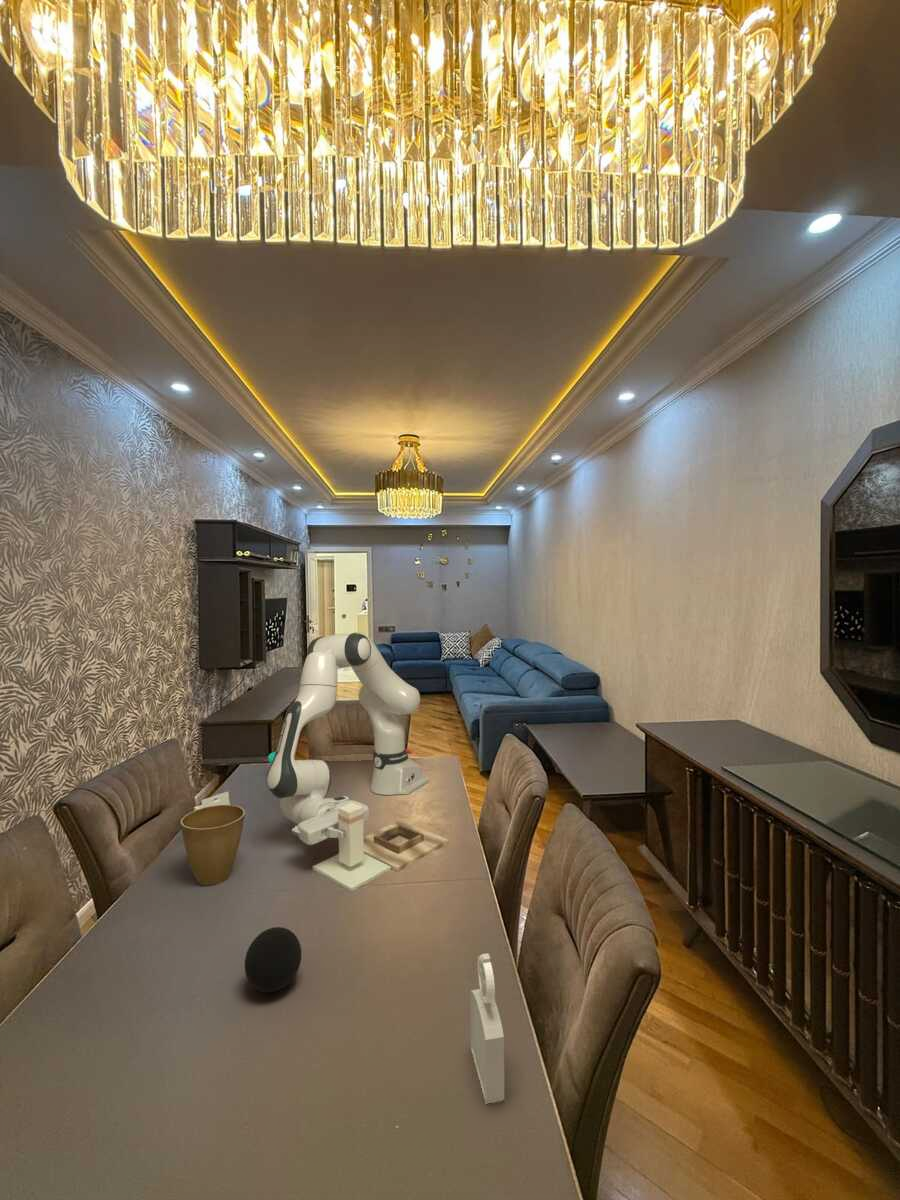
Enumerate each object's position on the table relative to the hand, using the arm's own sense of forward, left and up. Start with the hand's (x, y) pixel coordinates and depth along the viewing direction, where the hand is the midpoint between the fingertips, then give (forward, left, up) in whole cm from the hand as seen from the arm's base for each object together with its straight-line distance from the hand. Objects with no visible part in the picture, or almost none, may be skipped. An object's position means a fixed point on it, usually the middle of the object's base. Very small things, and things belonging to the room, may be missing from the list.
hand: (353, 831), depth 138 cm
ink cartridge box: (+17, -43, -11) cm, 47 cm away
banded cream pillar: (0, -1, -8) cm, 8 cm away
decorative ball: (+35, +20, -11) cm, 42 cm away
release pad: (0, -1, -10) cm, 10 cm away
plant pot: (+25, -25, -11) cm, 37 cm away
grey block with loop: (+24, +61, -11) cm, 66 cm away
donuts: (-25, -75, -11) cm, 80 cm away
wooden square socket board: (-17, -1, -10) cm, 20 cm away
